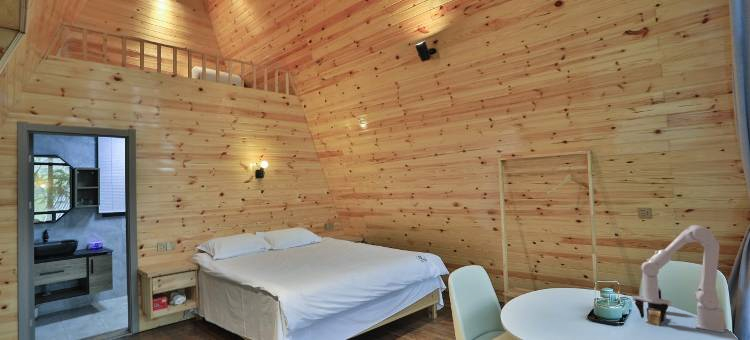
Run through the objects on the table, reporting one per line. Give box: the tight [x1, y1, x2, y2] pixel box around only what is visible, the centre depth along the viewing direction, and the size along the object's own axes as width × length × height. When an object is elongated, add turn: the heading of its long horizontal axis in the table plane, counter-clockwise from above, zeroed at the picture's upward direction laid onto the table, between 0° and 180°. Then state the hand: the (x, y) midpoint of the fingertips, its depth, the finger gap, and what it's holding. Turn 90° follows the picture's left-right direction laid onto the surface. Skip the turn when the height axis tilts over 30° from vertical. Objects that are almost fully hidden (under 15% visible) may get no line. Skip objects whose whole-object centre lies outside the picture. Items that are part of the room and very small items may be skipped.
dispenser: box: [646, 307, 667, 323], centre depth 194 cm, size 6×6×5 cm
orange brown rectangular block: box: [647, 310, 662, 326], centre depth 191 cm, size 4×12×4 cm, turn 141°
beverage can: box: [647, 286, 662, 310], centre depth 204 cm, size 6×6×12 cm
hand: (652, 319), depth 188 cm, fingers open, 7 cm apart
